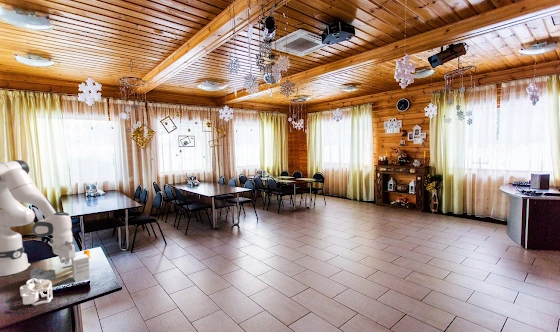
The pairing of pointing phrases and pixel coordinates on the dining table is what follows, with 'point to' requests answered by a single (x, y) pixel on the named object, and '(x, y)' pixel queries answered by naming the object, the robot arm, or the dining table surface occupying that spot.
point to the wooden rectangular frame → (52, 277)
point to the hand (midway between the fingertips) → (64, 263)
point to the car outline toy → (36, 292)
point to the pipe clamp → (87, 253)
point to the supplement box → (80, 267)
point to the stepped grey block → (35, 272)
